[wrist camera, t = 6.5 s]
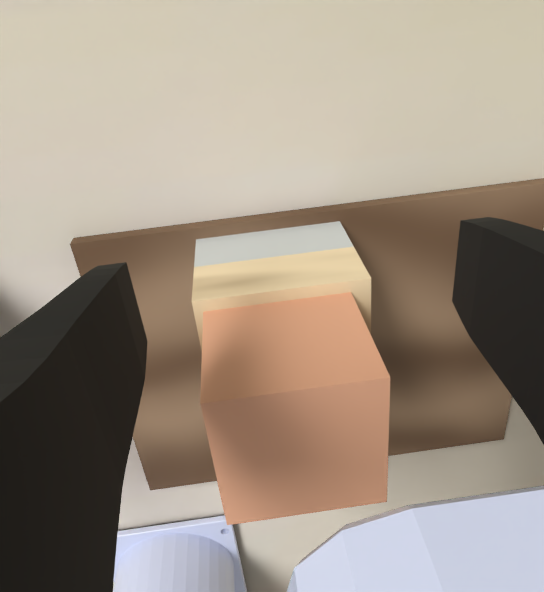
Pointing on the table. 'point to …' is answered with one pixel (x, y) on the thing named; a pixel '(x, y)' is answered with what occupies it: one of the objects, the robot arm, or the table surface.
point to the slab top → (281, 281)
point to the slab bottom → (270, 243)
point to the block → (294, 407)
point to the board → (384, 320)
